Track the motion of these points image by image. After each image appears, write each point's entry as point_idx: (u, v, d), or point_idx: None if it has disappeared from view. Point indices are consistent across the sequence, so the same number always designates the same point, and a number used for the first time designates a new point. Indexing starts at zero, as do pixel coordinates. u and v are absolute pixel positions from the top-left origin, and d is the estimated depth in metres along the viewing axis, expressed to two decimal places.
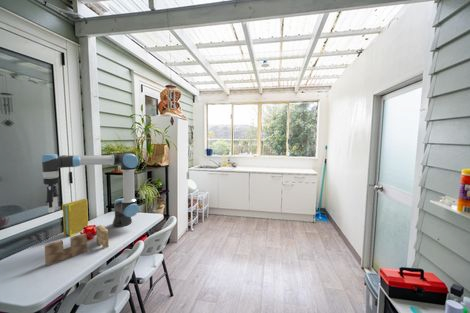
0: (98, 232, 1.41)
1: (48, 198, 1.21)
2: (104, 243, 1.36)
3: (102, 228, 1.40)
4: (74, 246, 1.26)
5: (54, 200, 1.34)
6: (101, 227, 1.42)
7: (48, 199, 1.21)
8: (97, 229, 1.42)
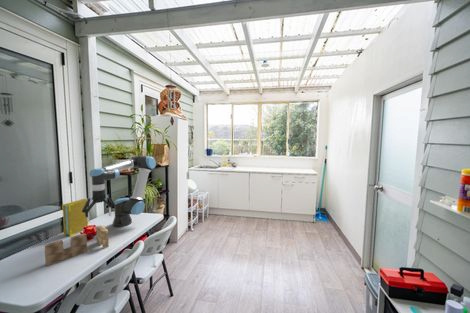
0: (98, 232, 1.41)
1: (83, 208, 1.34)
2: (104, 243, 1.36)
3: (102, 228, 1.40)
4: (74, 246, 1.26)
5: (109, 210, 1.47)
6: (101, 227, 1.42)
7: (82, 209, 1.34)
8: (97, 229, 1.42)
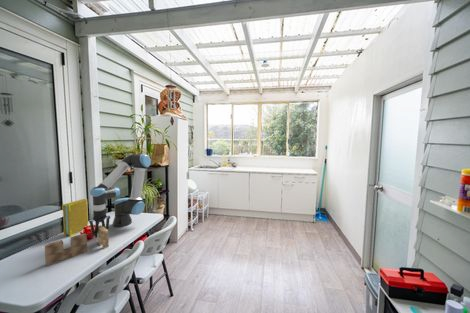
0: (98, 232, 1.41)
1: (91, 230, 1.39)
2: (104, 243, 1.36)
3: (102, 228, 1.40)
4: (74, 246, 1.26)
5: None
6: (101, 227, 1.42)
7: (91, 231, 1.39)
8: None
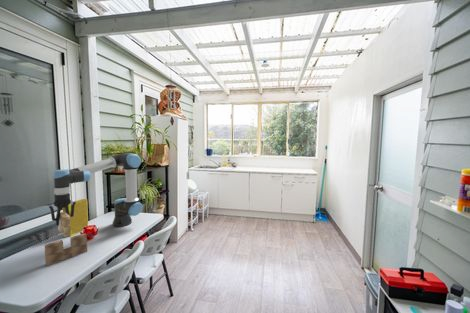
0: (60, 219, 1.24)
1: None
2: (65, 231, 1.20)
3: (64, 214, 1.23)
4: (74, 246, 1.26)
5: None
6: (64, 213, 1.25)
7: None
8: None
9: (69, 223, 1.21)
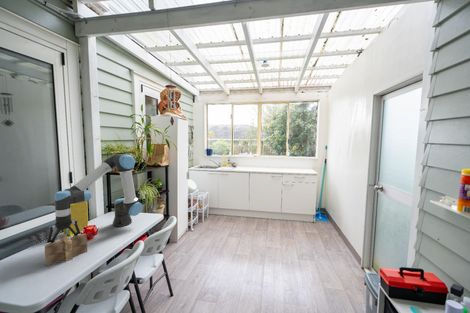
0: None
1: (47, 238, 1.21)
2: (67, 255, 1.21)
3: (66, 238, 1.25)
4: (74, 246, 1.26)
5: None
6: (65, 237, 1.26)
7: (47, 239, 1.21)
8: (61, 239, 1.27)
9: (71, 247, 1.22)
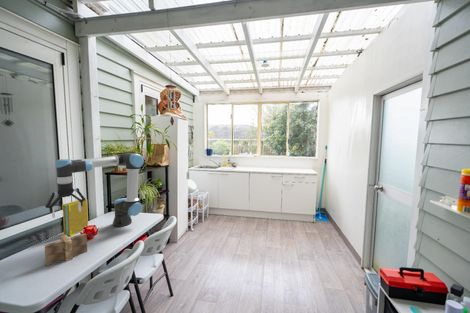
0: None
1: None
2: (67, 255, 1.21)
3: (66, 238, 1.25)
4: (74, 246, 1.26)
5: (78, 205, 1.34)
6: (65, 237, 1.26)
7: (46, 204, 1.21)
8: (61, 239, 1.27)
9: (71, 247, 1.22)
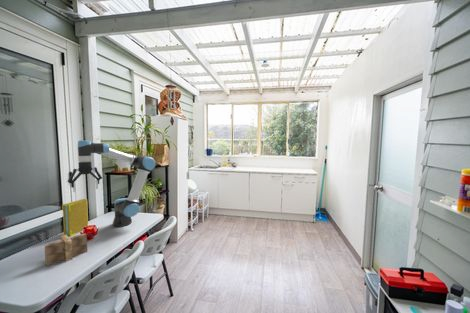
0: None
1: (69, 178, 1.35)
2: (67, 255, 1.21)
3: (66, 238, 1.25)
4: (74, 246, 1.26)
5: (96, 183, 1.48)
6: (65, 237, 1.26)
7: (68, 179, 1.35)
8: (61, 239, 1.27)
9: (71, 247, 1.22)
